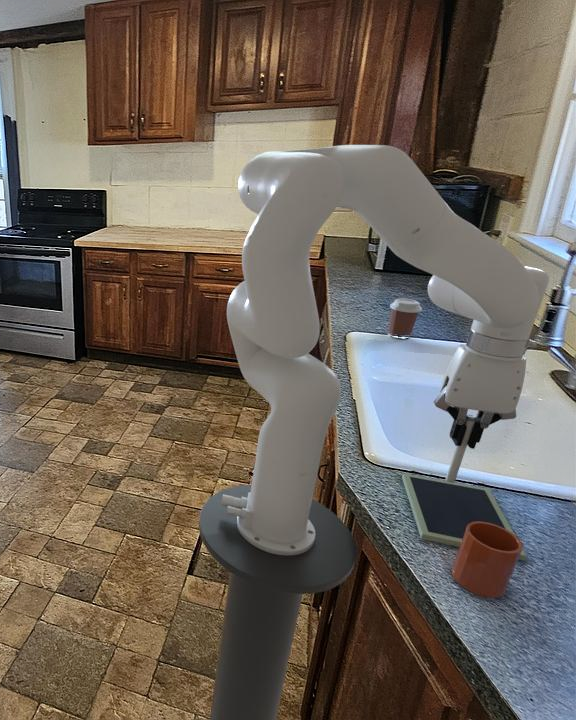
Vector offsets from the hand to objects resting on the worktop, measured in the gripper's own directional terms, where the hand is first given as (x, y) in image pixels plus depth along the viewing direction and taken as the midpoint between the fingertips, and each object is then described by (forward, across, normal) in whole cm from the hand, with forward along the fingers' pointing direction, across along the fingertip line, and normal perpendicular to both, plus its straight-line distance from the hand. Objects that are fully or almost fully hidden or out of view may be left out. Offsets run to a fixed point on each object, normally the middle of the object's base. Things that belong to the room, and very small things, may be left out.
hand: (462, 442), depth 91 cm
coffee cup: (+10, -6, -93) cm, 94 cm away
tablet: (+11, 0, +6) cm, 12 cm away
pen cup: (+11, +1, +22) cm, 24 cm away
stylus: (+8, 0, 0) cm, 8 cm away
